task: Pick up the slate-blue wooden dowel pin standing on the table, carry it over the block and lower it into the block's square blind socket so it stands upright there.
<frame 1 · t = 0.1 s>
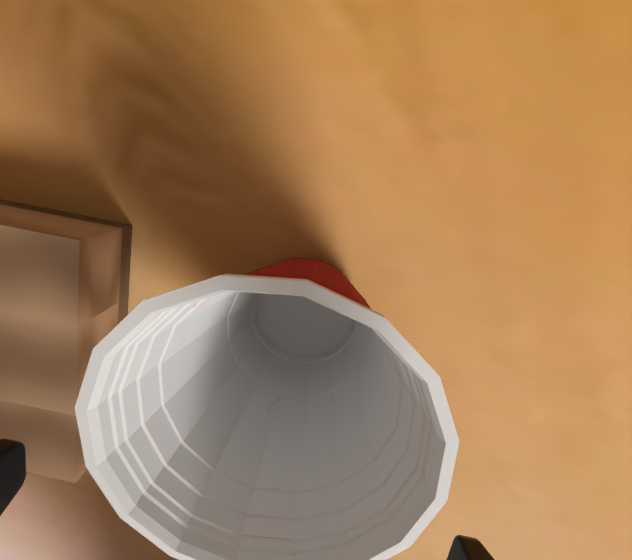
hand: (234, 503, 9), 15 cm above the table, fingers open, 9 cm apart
bore block: (18, 313, 24), on the table
plastic cup: (306, 311, 23), on the table
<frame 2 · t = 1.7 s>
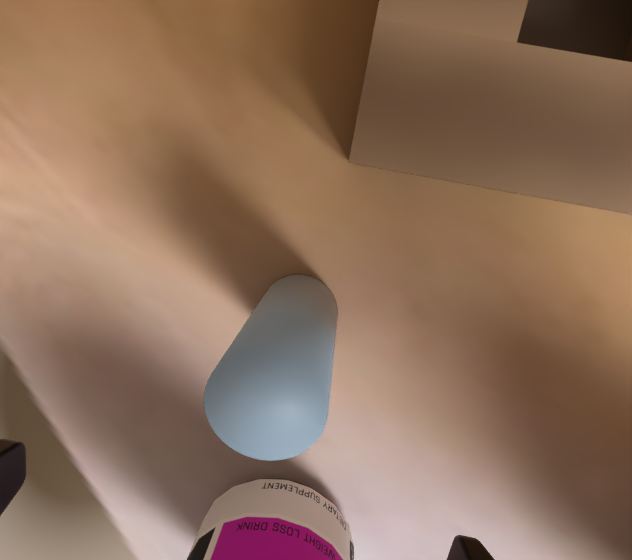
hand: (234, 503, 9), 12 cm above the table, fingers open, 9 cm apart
supplement can: (279, 527, 23), on the table
bore block: (555, 15, 16), on the table
pin: (299, 311, 20), on the table
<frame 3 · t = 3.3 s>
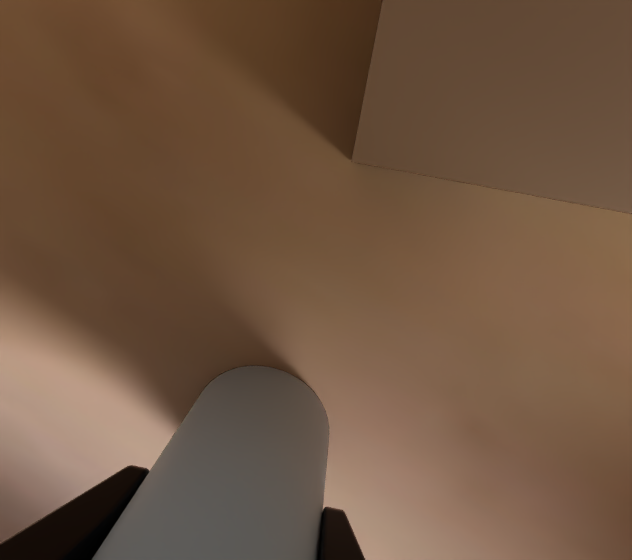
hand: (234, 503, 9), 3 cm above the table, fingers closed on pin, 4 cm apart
pin: (260, 428, 11), on the table, touching gripper
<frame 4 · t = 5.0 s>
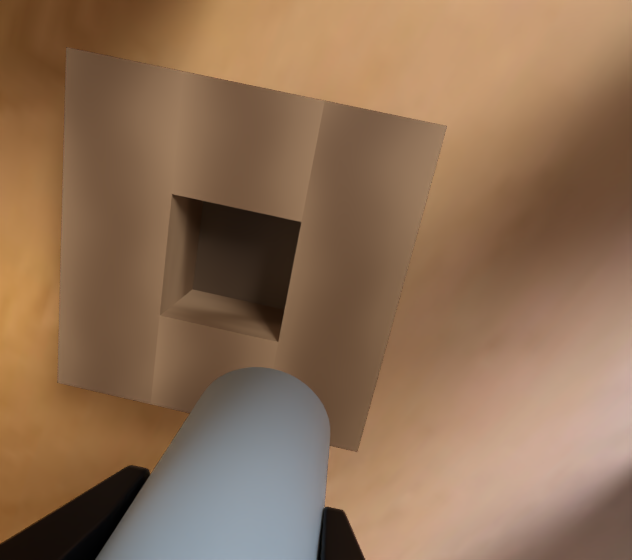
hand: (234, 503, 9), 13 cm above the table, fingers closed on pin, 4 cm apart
bore block: (254, 247, 20), on the table
pin: (261, 429, 11), point 10 cm above the table, touching gripper
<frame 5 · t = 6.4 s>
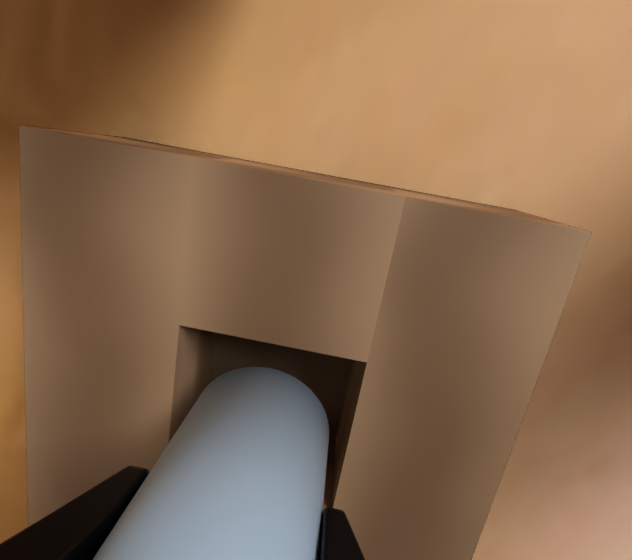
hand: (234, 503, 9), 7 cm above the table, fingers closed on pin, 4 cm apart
bore block: (285, 351, 15), on the table
pin: (260, 428, 11), point 5 cm above the table, touching gripper
when the fingers open (5 cm above the table, at t = 7.1 s): pin drops 2 cm, resting on bore block.
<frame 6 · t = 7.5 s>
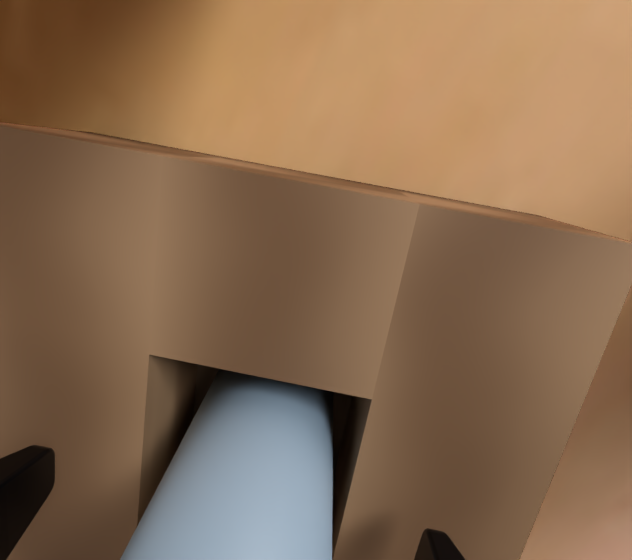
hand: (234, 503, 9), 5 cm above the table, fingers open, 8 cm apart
bore block: (278, 373, 14), on the table
pin: (274, 391, 13), point 1 cm above the table, touching bore block
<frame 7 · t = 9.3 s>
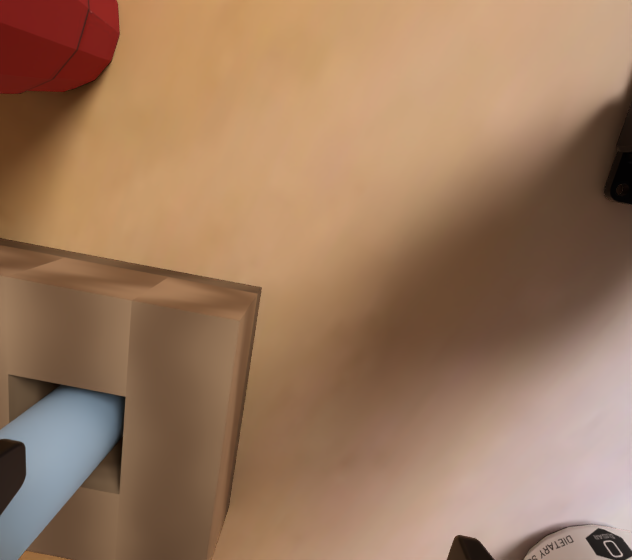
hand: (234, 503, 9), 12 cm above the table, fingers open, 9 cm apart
bore block: (120, 382, 22), on the table
pin: (111, 393, 21), point 1 cm above the table, touching bore block
plastic cup: (62, 17, 18), on the table
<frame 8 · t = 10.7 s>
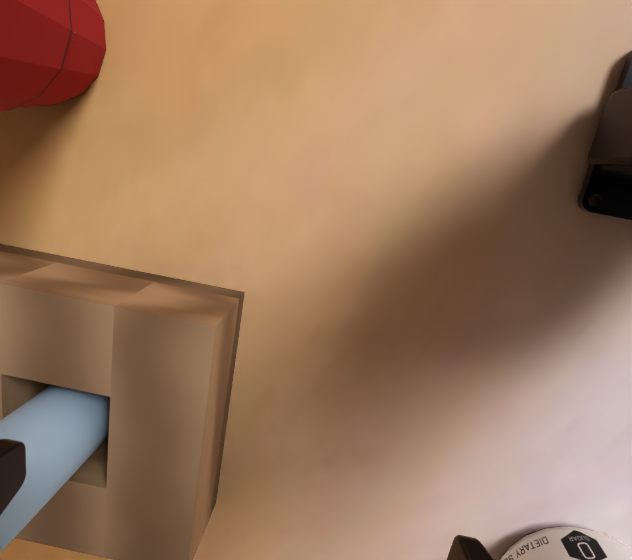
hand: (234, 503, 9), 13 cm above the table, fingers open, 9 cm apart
bore block: (112, 381, 23), on the table
pin: (102, 391, 22), point 1 cm above the table, touching bore block
plastic cup: (52, 33, 18), on the table
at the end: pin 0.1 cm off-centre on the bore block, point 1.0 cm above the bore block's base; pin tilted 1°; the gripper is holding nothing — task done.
